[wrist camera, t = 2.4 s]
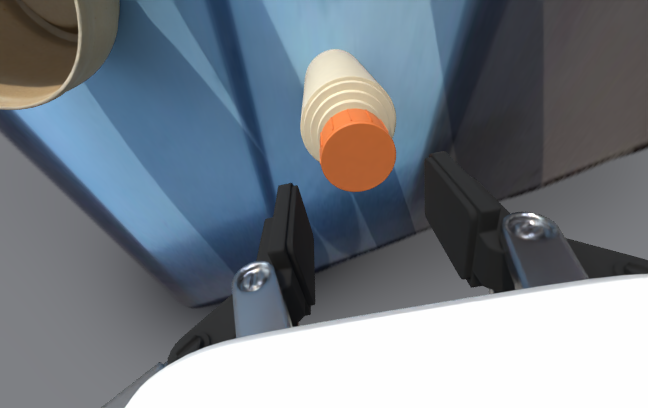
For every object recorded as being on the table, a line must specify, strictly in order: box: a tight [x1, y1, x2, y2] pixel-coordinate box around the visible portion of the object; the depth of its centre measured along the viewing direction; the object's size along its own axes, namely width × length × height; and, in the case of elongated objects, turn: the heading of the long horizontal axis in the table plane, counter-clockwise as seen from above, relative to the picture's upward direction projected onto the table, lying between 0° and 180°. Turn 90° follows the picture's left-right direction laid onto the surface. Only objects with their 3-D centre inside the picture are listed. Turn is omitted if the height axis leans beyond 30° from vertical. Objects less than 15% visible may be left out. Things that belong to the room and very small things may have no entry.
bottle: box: [300, 49, 396, 162], centre depth 23 cm, size 6×6×18 cm
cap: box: [319, 108, 396, 192], centre depth 16 cm, size 4×4×2 cm
